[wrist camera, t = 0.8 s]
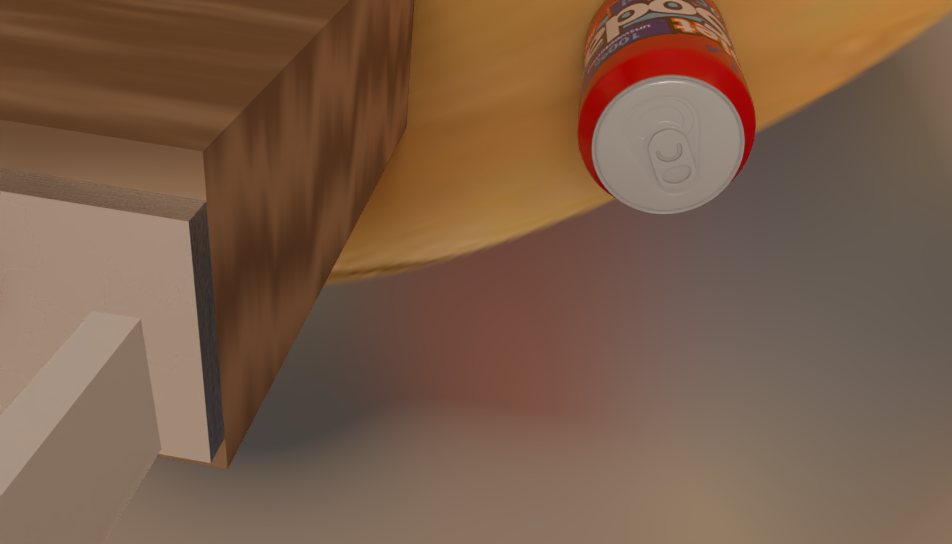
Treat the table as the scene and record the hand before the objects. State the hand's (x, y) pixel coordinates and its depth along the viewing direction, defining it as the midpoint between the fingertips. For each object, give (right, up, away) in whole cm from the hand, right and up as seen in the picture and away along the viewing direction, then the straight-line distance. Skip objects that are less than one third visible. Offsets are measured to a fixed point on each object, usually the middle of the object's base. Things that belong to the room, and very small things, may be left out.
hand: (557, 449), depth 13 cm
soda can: (+9, +16, +37) cm, 41 cm away
